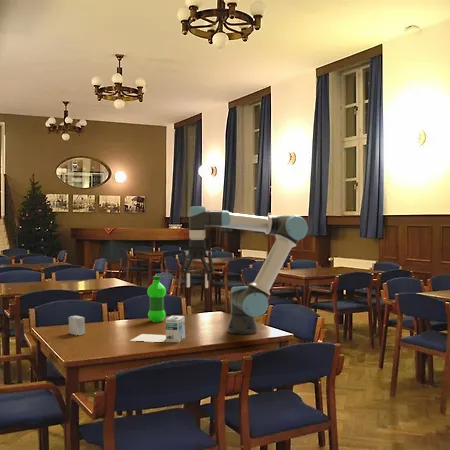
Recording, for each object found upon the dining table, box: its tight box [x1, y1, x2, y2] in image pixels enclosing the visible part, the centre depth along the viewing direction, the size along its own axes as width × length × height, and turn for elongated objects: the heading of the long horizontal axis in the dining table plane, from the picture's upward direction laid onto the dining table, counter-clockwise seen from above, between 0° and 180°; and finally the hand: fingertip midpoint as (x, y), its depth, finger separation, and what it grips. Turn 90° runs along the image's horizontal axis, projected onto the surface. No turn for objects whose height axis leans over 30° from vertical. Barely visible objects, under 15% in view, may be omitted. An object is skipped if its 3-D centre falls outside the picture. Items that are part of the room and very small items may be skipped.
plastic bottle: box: [146, 275, 167, 323], centre depth 319 cm, size 10×10×25 cm
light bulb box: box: [165, 315, 186, 343], centre depth 273 cm, size 11×7×11 cm, turn 168°
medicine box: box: [68, 315, 86, 336], centre depth 286 cm, size 8×4×9 cm, turn 47°
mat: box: [129, 333, 166, 343], centre depth 276 cm, size 16×15×1 cm
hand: (197, 287), depth 270 cm, fingers open, 8 cm apart
